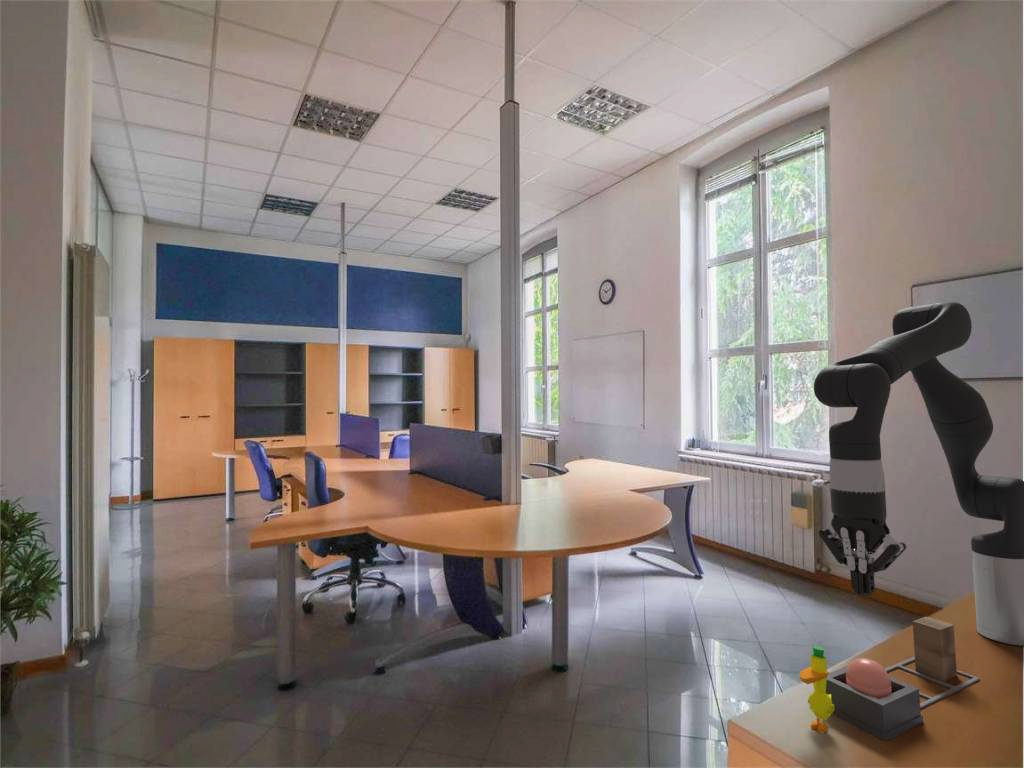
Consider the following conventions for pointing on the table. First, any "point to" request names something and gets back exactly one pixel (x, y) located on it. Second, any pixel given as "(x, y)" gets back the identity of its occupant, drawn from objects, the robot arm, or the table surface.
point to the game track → (942, 695)
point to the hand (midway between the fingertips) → (863, 594)
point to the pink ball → (868, 677)
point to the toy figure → (818, 688)
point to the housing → (875, 706)
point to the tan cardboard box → (934, 648)
